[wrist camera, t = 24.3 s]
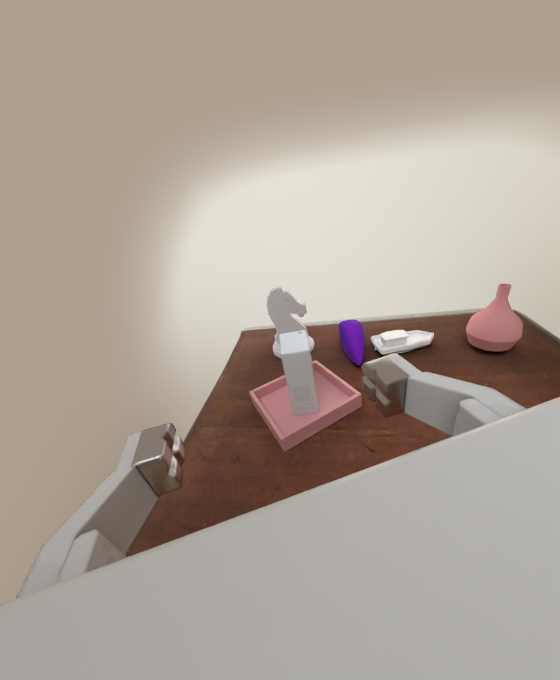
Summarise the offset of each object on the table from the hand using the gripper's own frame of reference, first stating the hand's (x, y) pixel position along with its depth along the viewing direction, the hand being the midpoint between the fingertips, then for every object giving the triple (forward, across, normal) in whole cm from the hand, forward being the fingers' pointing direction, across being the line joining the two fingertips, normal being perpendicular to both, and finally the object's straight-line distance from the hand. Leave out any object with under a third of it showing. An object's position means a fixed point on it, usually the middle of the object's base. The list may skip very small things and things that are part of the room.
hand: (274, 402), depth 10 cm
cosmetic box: (+22, -6, +23) cm, 33 cm away
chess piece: (+41, -10, +24) cm, 48 cm away
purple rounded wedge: (+33, -21, +23) cm, 46 cm away
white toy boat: (+29, -30, +23) cm, 48 cm away
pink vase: (+22, -42, +23) cm, 53 cm away
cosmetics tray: (+23, -6, +23) cm, 33 cm away
